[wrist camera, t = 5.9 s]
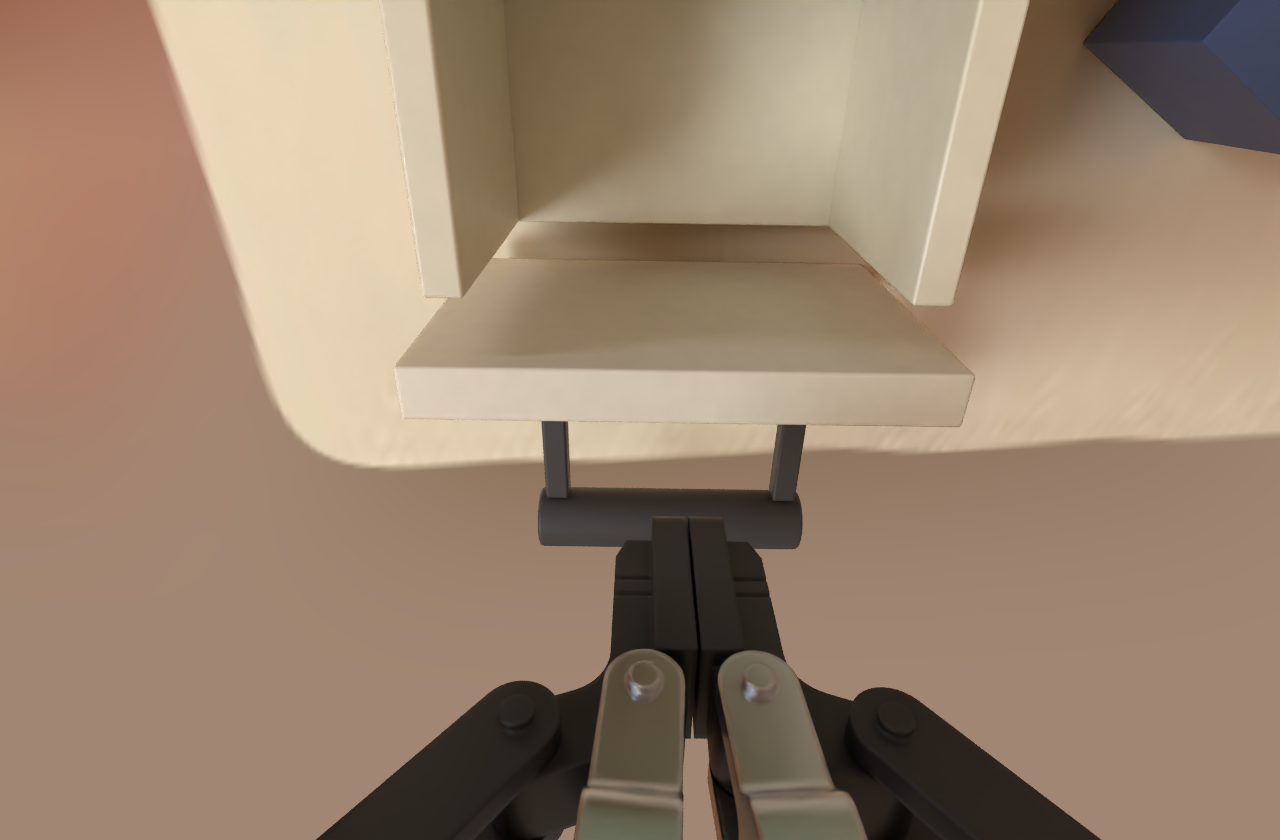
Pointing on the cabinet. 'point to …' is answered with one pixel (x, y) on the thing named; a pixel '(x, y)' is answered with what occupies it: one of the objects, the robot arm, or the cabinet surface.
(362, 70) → the cabinet surface
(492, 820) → the robot arm
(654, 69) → the drawer
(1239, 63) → the block
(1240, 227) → the cabinet surface
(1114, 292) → the cabinet surface
